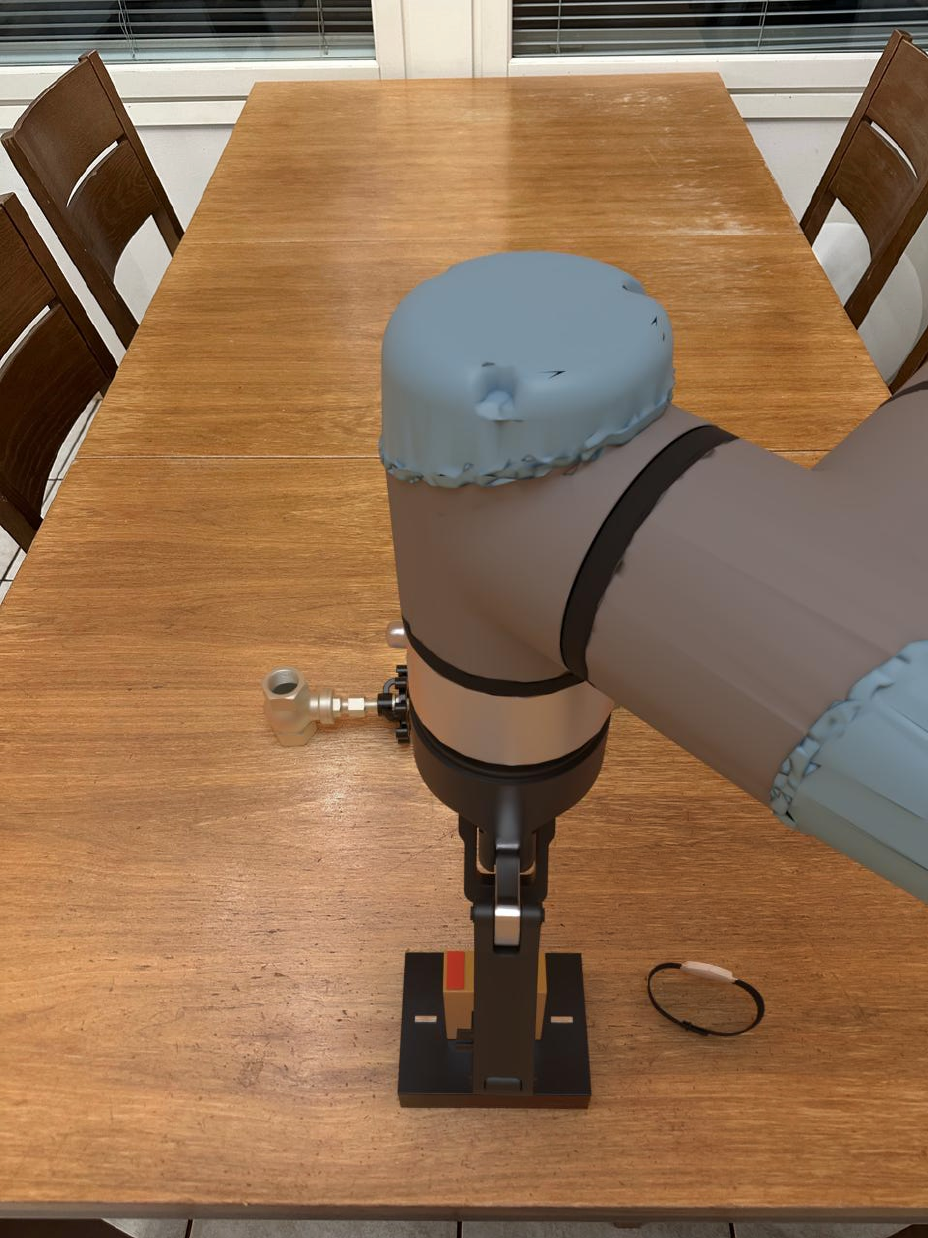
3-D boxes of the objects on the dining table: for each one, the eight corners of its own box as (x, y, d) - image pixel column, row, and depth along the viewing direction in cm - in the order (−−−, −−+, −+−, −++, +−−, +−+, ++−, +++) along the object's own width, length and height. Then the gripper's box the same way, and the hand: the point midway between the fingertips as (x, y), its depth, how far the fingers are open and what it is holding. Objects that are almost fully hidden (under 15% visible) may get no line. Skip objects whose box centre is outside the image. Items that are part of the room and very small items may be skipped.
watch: (760, 988, 65) (772, 967, 63) (755, 1057, 62) (767, 1038, 60) (649, 958, 67) (656, 936, 64) (638, 1024, 64) (645, 1004, 61)
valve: (266, 763, 78) (410, 760, 78) (251, 715, 73) (405, 712, 73) (275, 699, 83) (412, 696, 83) (262, 651, 78) (407, 648, 78)
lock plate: (578, 970, 66) (581, 951, 64) (588, 1109, 60) (592, 1094, 58) (407, 969, 67) (404, 950, 64) (400, 1108, 61) (397, 1093, 58)
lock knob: (539, 1000, 62) (545, 948, 56) (540, 1040, 60) (547, 991, 54) (447, 1000, 62) (443, 948, 56) (446, 1039, 60) (442, 991, 54)
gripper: (428, 469, 43) (442, 737, 59) (374, 1040, 26) (414, 1200, 42) (593, 470, 43) (563, 739, 59) (645, 1048, 26) (583, 1206, 42)
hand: (501, 933), depth 50 cm, fingers open, 13 cm apart
